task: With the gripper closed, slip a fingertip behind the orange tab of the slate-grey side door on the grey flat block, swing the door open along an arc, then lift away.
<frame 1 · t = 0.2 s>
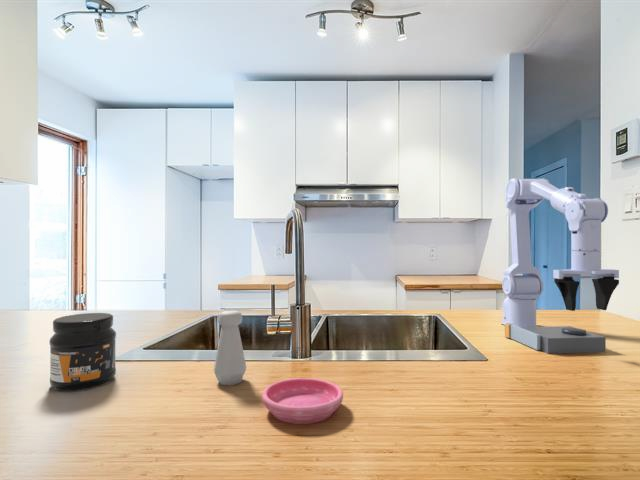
hand: (586, 309, 90), 10 cm above the table, tool pointing down, fingers open, 7 cm apart
salt shaker: (230, 382, 72), on the table
grey flat block: (559, 346, 95), on the table
supplement container: (84, 383, 72), on the table
side door: (521, 335, 98), point 2 cm above the table, hinge at 0.0°
pink shallow bowl: (302, 412, 60), on the table
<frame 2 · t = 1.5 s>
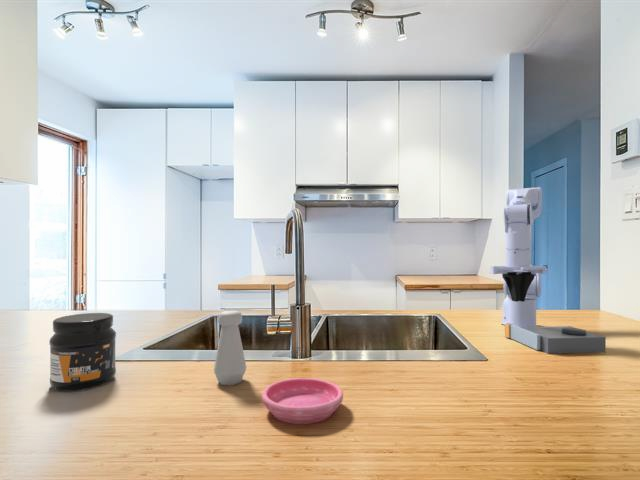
hand: (518, 301, 103), 10 cm above the table, tool pointing down, fingers closed
nothing on the table moved.
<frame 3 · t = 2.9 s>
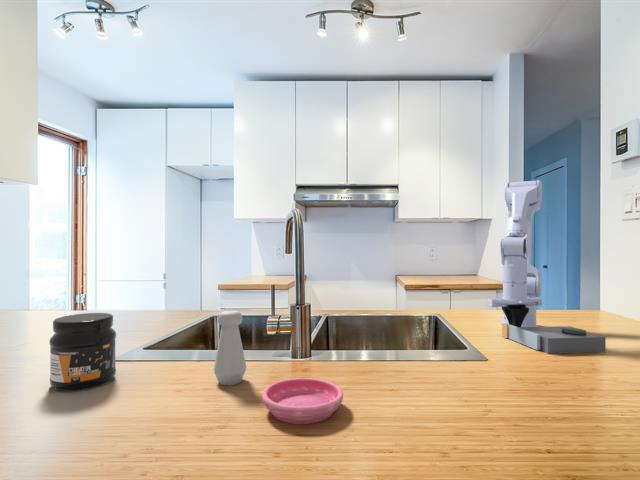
hand: (515, 333, 103), 1 cm above the table, tool pointing down, fingers closed
side door: (520, 335, 98), point 2 cm above the table, hinge at 3.0°, touching gripper
everything else where it was.
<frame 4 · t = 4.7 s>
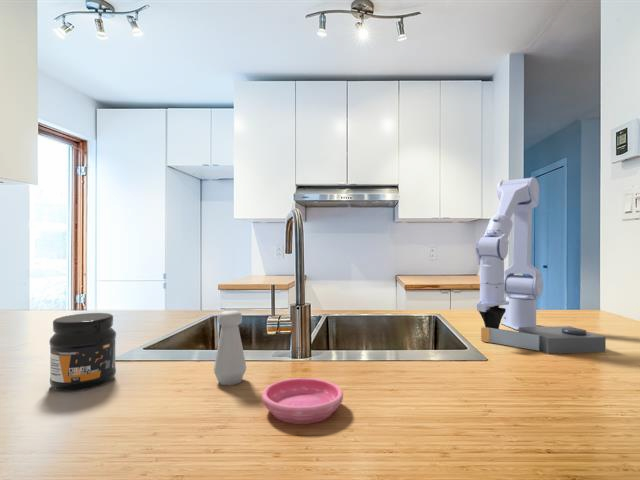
hand: (492, 336, 100), 1 cm above the table, tool pointing down, fingers closed
side door: (509, 338, 95), point 2 cm above the table, hinge at 41.5°, touching gripper
everything else where it was.
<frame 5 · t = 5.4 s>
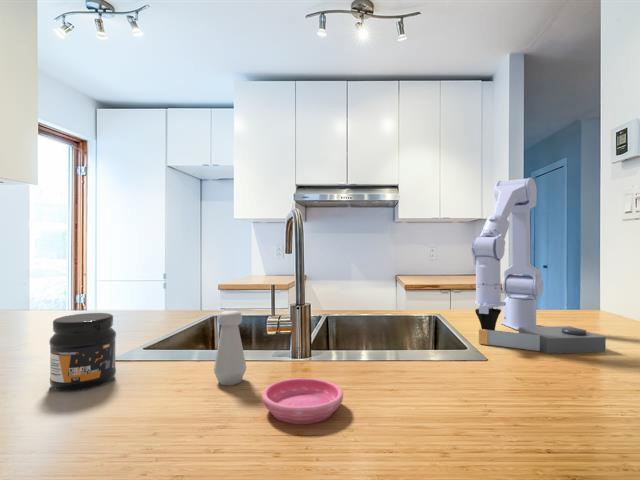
hand: (488, 337, 98), 1 cm above the table, tool pointing down, fingers closed
side door: (508, 339, 94), point 2 cm above the table, hinge at 54.4°, touching gripper
everything else where it was.
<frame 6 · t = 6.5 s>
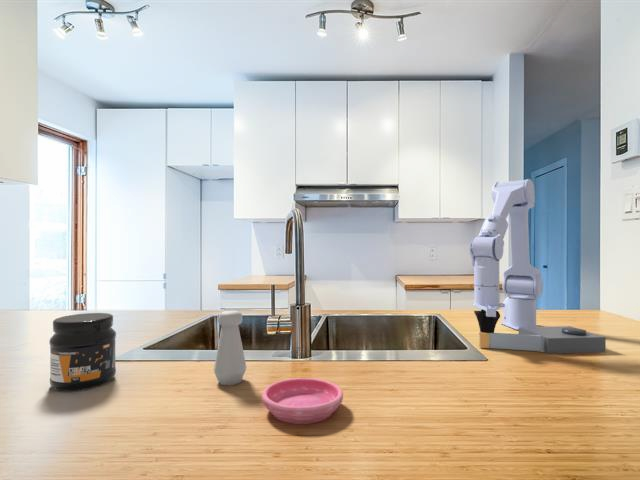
hand: (486, 340, 95), 1 cm above the table, tool pointing down, fingers closed
side door: (509, 341, 92), point 2 cm above the table, hinge at 70.7°, touching gripper
everything else where it was.
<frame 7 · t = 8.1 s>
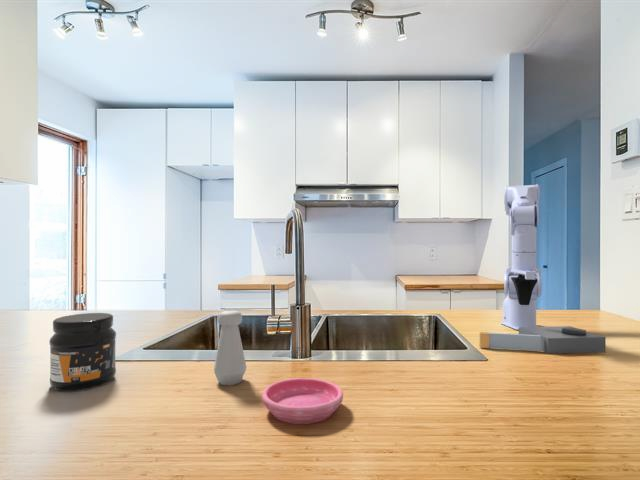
hand: (524, 304, 101), 9 cm above the table, tool pointing down, fingers closed
side door: (509, 341, 92), point 2 cm above the table, hinge at 70.8°
everything else where it was.
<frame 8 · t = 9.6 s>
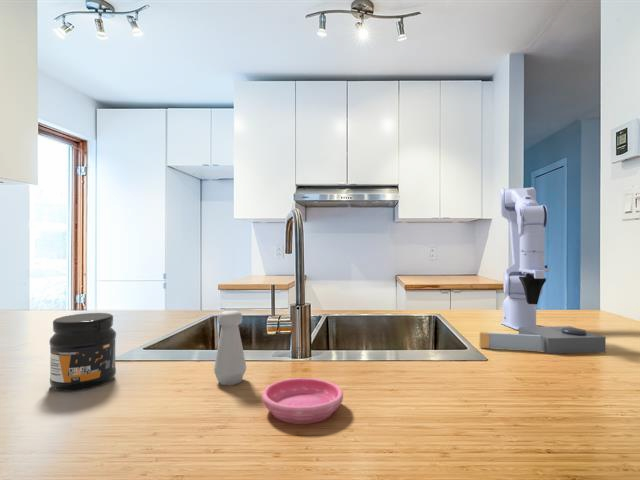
hand: (532, 303, 101), 9 cm above the table, tool pointing down, fingers closed
nothing on the table moved.
at the end: side door at +71° (first picture: +0°) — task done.
